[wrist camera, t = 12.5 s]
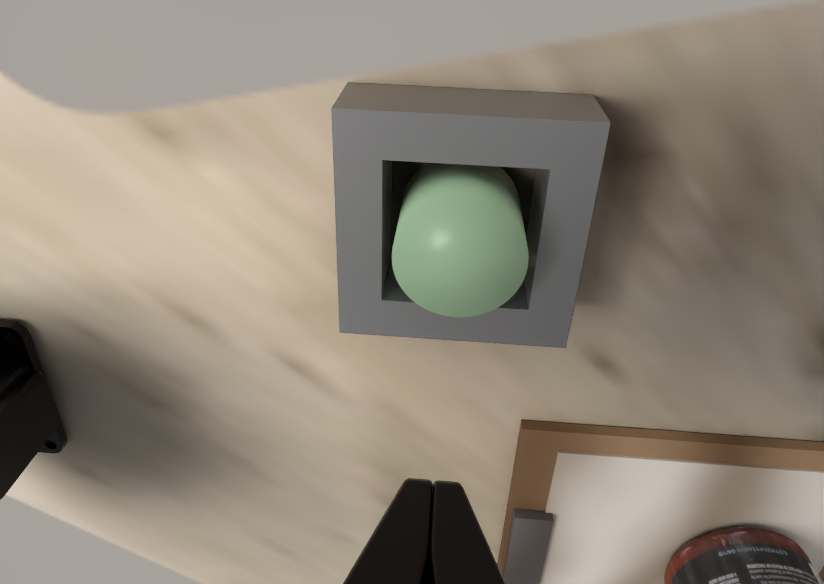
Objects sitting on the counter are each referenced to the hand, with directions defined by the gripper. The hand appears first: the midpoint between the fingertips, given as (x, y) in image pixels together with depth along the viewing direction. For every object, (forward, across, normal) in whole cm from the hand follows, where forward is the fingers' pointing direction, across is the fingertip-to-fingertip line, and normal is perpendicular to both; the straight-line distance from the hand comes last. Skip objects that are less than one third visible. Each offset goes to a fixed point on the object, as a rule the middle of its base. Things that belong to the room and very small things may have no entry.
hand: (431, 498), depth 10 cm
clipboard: (+12, -10, +16) cm, 23 cm away
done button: (+11, 0, 0) cm, 11 cm away
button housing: (+12, 0, 0) cm, 12 cm away
